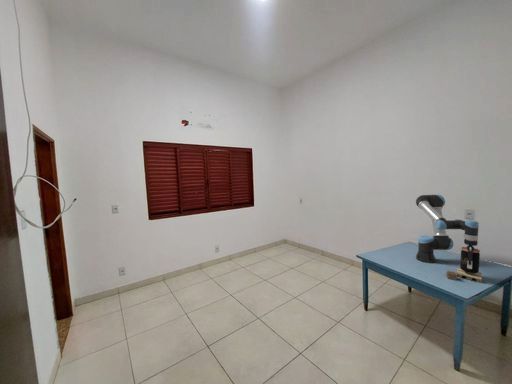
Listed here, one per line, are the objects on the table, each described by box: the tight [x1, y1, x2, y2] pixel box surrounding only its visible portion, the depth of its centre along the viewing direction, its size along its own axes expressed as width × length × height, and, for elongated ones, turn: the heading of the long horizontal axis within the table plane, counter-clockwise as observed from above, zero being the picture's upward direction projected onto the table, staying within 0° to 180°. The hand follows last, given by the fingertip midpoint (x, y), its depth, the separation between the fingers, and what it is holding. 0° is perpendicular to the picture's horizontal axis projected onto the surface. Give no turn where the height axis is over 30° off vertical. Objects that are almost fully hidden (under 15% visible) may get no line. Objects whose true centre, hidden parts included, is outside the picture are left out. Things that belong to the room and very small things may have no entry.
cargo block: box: [445, 270, 458, 281], centre depth 169 cm, size 5×5×5 cm
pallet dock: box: [456, 267, 483, 284], centre depth 170 cm, size 14×14×3 cm
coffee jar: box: [459, 246, 481, 273], centre depth 169 cm, size 11×11×18 cm
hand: (469, 266), depth 169 cm, fingers closed on coffee jar, 10 cm apart
